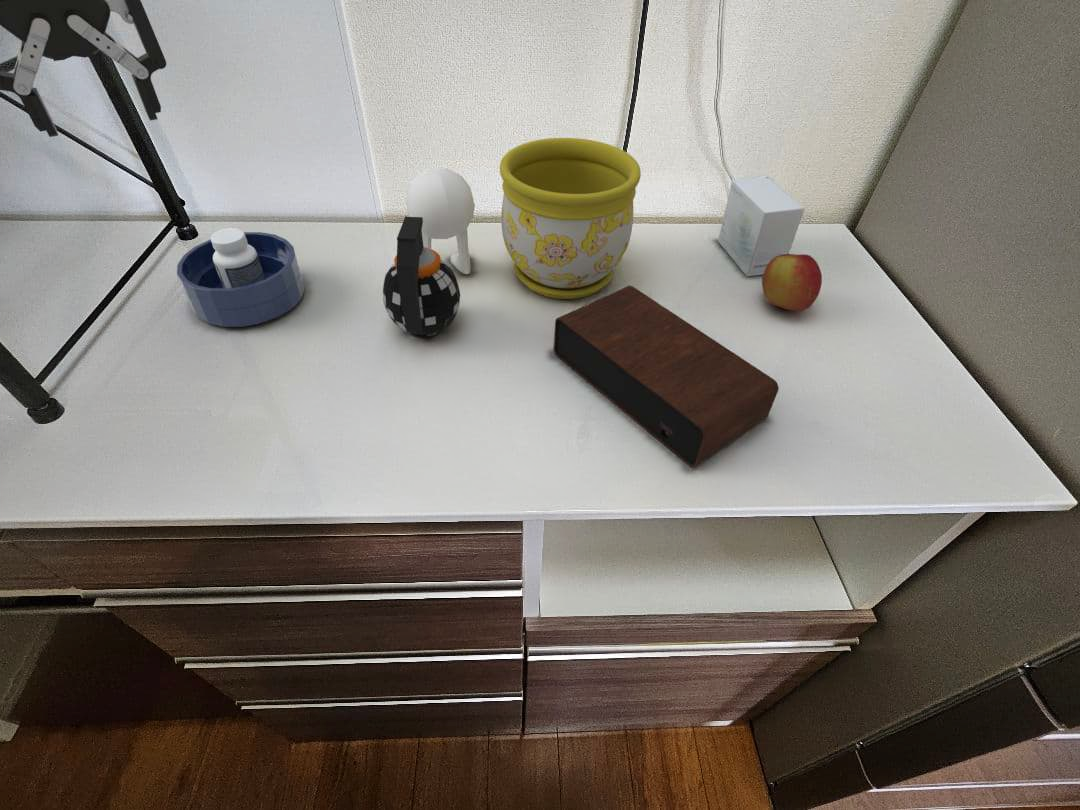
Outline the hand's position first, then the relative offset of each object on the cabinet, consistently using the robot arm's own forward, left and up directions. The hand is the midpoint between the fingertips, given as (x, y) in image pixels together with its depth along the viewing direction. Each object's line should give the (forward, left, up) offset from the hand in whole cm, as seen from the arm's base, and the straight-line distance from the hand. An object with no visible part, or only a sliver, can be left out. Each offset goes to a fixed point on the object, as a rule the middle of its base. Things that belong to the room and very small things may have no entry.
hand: (104, 125), depth 60 cm
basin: (+4, +9, -26) cm, 28 cm away
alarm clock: (+56, -10, -26) cm, 63 cm away
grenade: (+28, +1, -26) cm, 38 cm away
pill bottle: (+4, +8, -26) cm, 27 cm away
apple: (+77, +6, -26) cm, 81 cm away
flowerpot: (+47, +14, -26) cm, 56 cm away
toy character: (+30, +15, -26) cm, 43 cm away
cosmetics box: (+76, +19, -26) cm, 83 cm away
